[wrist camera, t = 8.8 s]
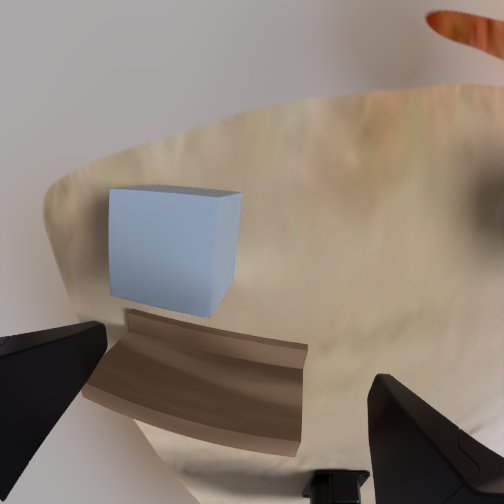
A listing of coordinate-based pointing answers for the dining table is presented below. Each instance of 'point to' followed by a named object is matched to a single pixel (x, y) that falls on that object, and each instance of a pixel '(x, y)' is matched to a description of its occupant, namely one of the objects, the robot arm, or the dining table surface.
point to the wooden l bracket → (205, 383)
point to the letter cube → (173, 246)
